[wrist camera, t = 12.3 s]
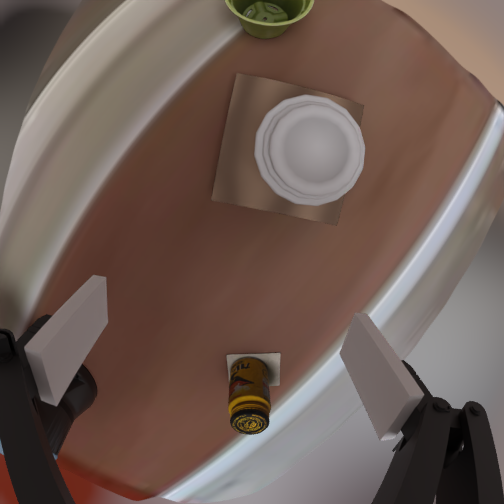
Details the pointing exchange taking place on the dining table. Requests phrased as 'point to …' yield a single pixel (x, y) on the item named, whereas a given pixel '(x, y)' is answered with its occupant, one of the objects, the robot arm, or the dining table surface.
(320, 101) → the coffee cup
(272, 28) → the plant pot
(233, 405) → the condiment
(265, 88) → the base slab
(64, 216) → the dining table surface
